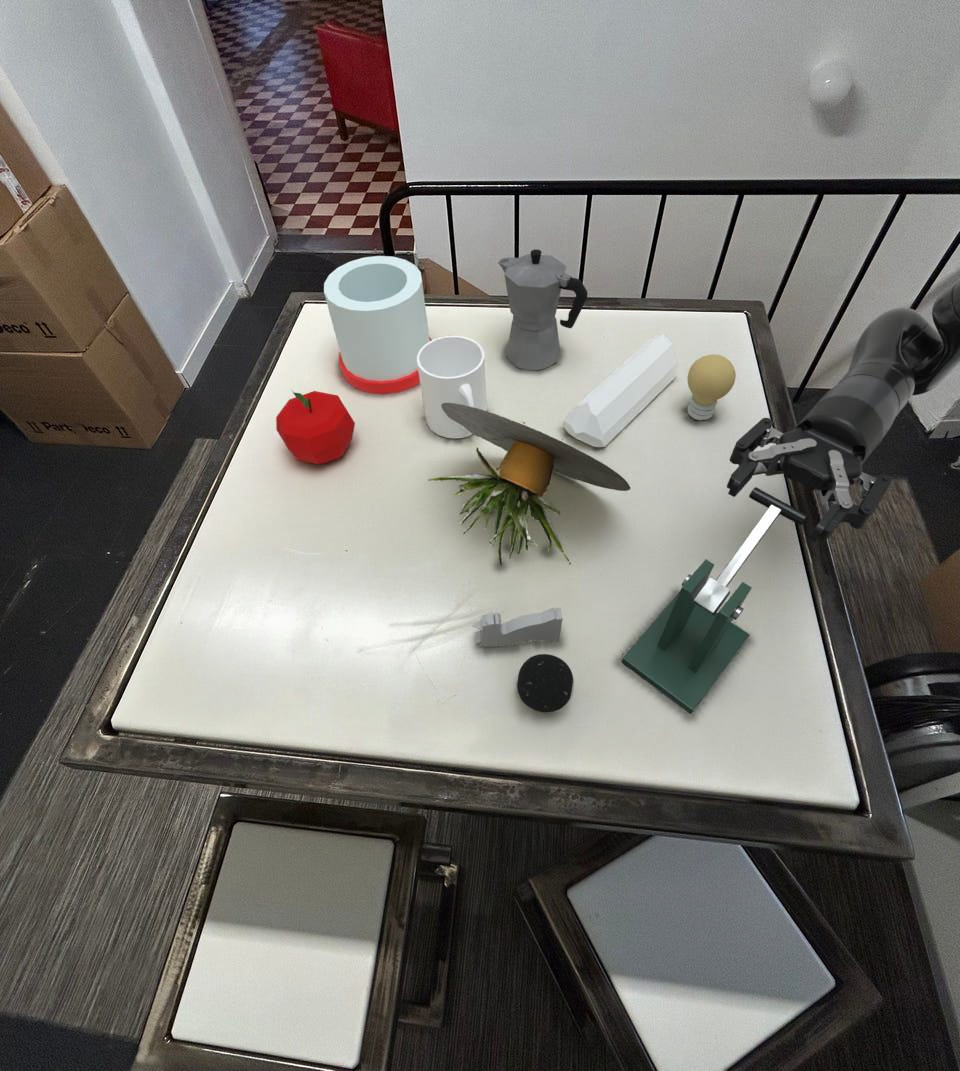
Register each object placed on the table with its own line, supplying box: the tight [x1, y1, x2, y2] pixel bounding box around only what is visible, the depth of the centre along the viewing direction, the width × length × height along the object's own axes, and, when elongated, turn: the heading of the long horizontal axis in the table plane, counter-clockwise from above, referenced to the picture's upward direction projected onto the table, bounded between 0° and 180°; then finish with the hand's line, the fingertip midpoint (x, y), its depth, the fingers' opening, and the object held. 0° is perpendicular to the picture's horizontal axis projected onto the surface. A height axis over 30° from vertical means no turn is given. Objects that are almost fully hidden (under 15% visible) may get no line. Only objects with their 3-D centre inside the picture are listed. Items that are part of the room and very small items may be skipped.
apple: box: [275, 390, 356, 465], centre depth 88 cm, size 11×11×10 cm
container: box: [323, 255, 433, 395], centre depth 97 cm, size 16×16×15 cm
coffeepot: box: [497, 248, 589, 372], centre depth 95 cm, size 15×9×18 cm, turn 55°
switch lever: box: [694, 486, 809, 616], centre depth 60 cm, size 13×6×2 cm, turn 137°
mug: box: [417, 335, 488, 439], centre depth 89 cm, size 10×12×12 cm
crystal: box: [562, 333, 679, 448], centre depth 92 cm, size 7×7×24 cm
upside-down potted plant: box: [427, 403, 631, 567], centre depth 76 cm, size 25×18×25 cm
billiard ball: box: [516, 653, 575, 714], centre depth 65 cm, size 6×6×6 cm
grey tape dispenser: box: [471, 607, 564, 648], centre depth 69 cm, size 6×1×10 cm
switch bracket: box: [621, 558, 753, 715], centre depth 64 cm, size 12×9×14 cm
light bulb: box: [686, 353, 736, 421], centre depth 89 cm, size 6×6×10 cm
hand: (772, 512), depth 60 cm, fingers open, 8 cm apart
